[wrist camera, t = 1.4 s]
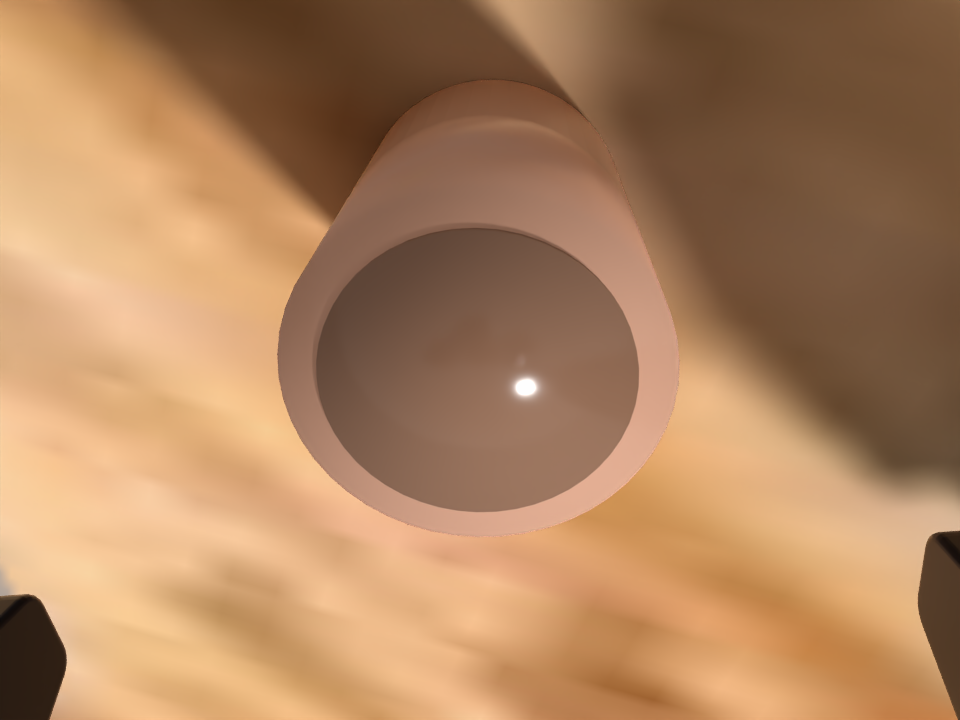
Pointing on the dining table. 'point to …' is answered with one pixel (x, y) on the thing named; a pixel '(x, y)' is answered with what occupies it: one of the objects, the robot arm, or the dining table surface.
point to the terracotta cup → (482, 322)
